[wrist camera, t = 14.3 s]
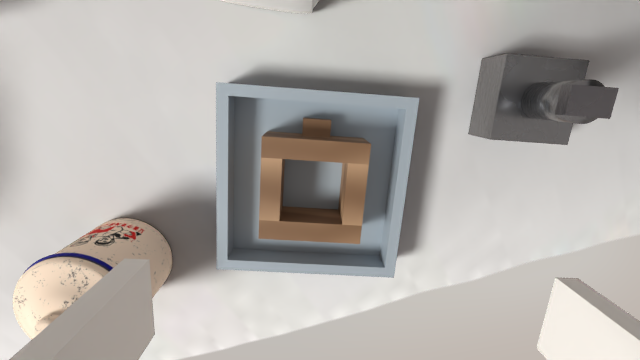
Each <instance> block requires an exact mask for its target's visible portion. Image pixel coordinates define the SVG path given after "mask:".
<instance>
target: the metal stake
mask: <svg viewBox="0 0 640 360" xmlns="http://www.w3.org/2000/svg"><path fill="white" fill-rule="evenodd" d="M588 63H589V61H588V60H576V59H565V58H553V57H541V56H530V55H518V54H503V55H498V56H493V57H488V58H483V59H482V62H481V68H480V73H479V78H478V84H477V89H476V95H475V100H474V106H473V111H472V117H471V122H470V128H469V133H468V134H470V135H474V136H478V137H482V138H487V139H492V140H506V141H520V142H534V143H548V144H562V145H568V141H569V137H570V133H571V129H572V125H573V123H579V124H585V123H589V122H592V121H594V120H595V119H597V118H608V119H610V117H611V113H612V110H613V106H614V103H615V99H616V96H617V92H618V89H619V88H610V87H605V86H604V85H603V84H602V83H600V82H599V81H596V80H584V79H585V75H586V71H587V67H588Z"/></svg>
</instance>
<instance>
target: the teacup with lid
mask: <svg viewBox="0 0 640 360" xmlns="http://www.w3.org/2000/svg"><path fill="white" fill-rule="evenodd" d="M124 258H125V259H148V260H149V261H150V275H151V289H152V298H153V297H154V295H155V294H156V293H157V291H158V290H159V289H160V287H161V286H162V285H163V283H164V282H165V281H166V279H167V278H168V276H169V274H170V272H171V268H172V253H171V249H170V247H169V244H168V243H167V241H166V239H165V238H164V237H163V235H162V234H161V233H160V232H159V231H158V230H156V229H155V228H154V227H152V226H151V225H149V224H147V223H145V222H142V221H139V220H135V219H129V218H120V219H114V220H110V221H108V222H105V223H103V224H102V225H100V226H98V227H97V228H95V229H94V230H92V231H90V232H89V233H87V234H86V235H84V236H82V237H81V238H79V239H78V240H76V241H74V242H73V243H71V244H70V245H68V246H66V247H65V248H63V249H62V250H60V251H58V252H57V253H55V254H53V255H49V256H47V257H44V258H42V259H40V260H38V261H36V262H35V263H33V264H32V265H31V266H30V267H29V268H28V269H27V270H26V271H25V272H24V273H23V275H22V276H21V278H20V279H19V281H18V283H17V285H16V287H15V291H14V295H13V309H14V313H15V316H16V319H17V321H18V323H19V325H20V327H21V328H22V330H23V331H24V332H25V333H26V334H27V336H28V337H29V338H30V339H33V338H35V337H36V336H37V335H38V334H39V333H40V332H41V331H42V330H44V329H45V328H46V327H47V326H48V325H49V324H50V323H52V322H53V321H54V320H55V319H56V318H57V317H58V316H60V315H61V314H62V313H63V312H64V311H65V310H66V309H67V308H69V307H70V306H71V305H72V304H73V303H74V302H75V301H77V300H78V299H79V298H80V297H81V296H82V295H83V294H85V293H86V292H87V291H88V290H89V289H90V288H91V287H93V286H94V285H95V284H96V283H97V282H98V281H99V280H100V279H102V278H103V277H104V276H105V275H106V274H107V273H108V272H110V271H111V270H112V269H113V268H114V267H115V266H116V265H118V264H119V263H120V262H121V261H122V260H123V259H124Z"/></svg>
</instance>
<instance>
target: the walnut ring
mask: <svg viewBox="0 0 640 360" xmlns="http://www.w3.org/2000/svg"><path fill="white" fill-rule="evenodd" d="M330 132H331V119H319V118H306V117H303V129H302V134H301V133H286V132H272V131H267V132H266V133H265V134H264V135H263V136H262V140H261V172H260V205H259V237H258V239H273V240H292V241H311V242H330V243H349V244H360V239H361V230H362V221H363V212H364V203H365V195H366V186H367V177H368V168H369V159H370V150H371V143H369V142H368V141H367V140H365V139H364V138H358V137H344V136H330ZM285 159H291V160H306V161H321V162H336V163H342V174H341V184H340V195H339V206H338V209H321V208H304V207H287V206H283V190H284V169H285Z"/></svg>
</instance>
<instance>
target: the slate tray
mask: <svg viewBox="0 0 640 360" xmlns="http://www.w3.org/2000/svg"><path fill="white" fill-rule="evenodd" d="M418 105H419V98H414V97H401V96H388V95H375V94H362V93H349V92H336V91H323V90H310V89H297V88H284V87H271V86H258V85H245V84H232V83H220V82H216V211H217V269H225V270H246V271H267V272H287V273H308V274H329V275H350V276H371V277H392V278H394V273H395V266H396V259H397V252H398V245H399V238H400V231H401V224H402V217H403V210H404V203H405V196H406V189H407V182H408V175H409V168H410V161H411V154H412V147H413V140H414V133H415V126H416V119H417V112H418ZM303 117H306V118H319V119H331V132H330V136H344V137H358V138H364V139H365V140H367V141H368V142H369V143H371V150H370V159H369V168H368V177H367V186H366V195H365V203H364V212H363V221H362V230H361V239H360V244H349V243H330V242H311V241H292V240H273V239H258V237H259V205H260V172H261V140H262V136H263V135H264V134H265V133H266V132H267V131H272V132H286V133H301V134H302V129H303ZM341 174H342V163H336V162H321V161H306V160H291V159H285V169H284V190H283V206H287V207H304V208H321V209H338V206H339V195H340V184H341Z"/></svg>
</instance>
